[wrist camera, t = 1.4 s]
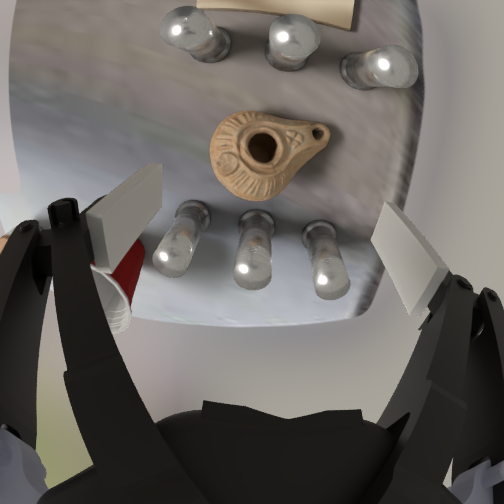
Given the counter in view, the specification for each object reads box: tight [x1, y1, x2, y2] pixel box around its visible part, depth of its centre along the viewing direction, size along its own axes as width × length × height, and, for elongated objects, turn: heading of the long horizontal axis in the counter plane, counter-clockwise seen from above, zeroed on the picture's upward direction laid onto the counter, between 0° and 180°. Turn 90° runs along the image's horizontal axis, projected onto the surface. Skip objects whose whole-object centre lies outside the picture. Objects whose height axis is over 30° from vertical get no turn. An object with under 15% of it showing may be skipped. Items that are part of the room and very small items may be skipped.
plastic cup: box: [90, 238, 145, 334], centre depth 32 cm, size 11×11×12 cm
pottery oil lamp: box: [210, 111, 331, 201], centre depth 25 cm, size 9×12×7 cm
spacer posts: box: [152, 6, 418, 300], centre depth 24 cm, size 25×20×10 cm
